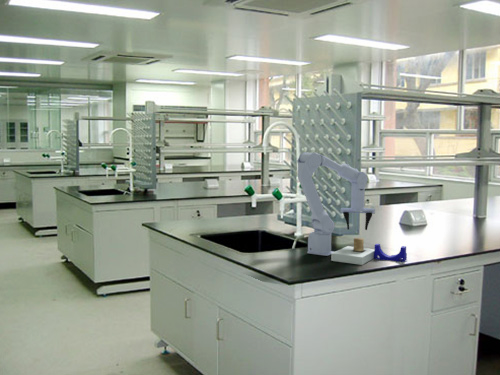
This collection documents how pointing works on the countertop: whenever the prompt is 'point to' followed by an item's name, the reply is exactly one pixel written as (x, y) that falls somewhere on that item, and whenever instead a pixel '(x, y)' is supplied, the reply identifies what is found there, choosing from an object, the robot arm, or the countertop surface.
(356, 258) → the hole board
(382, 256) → the blue cradle bracket
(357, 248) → the oak peg
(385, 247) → the countertop surface
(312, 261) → the countertop surface
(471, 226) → the countertop surface
